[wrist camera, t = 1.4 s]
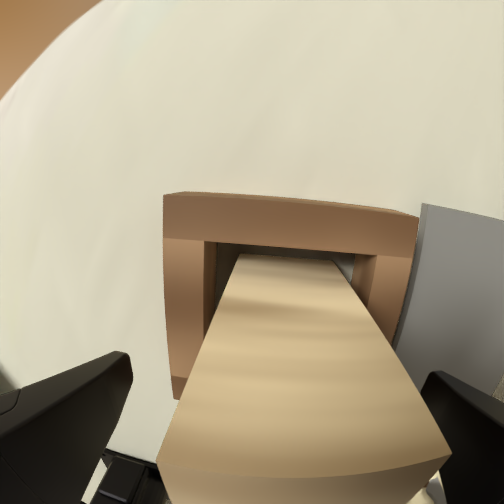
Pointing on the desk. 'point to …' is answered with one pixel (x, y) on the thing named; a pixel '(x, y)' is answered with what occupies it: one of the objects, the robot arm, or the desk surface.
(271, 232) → the collar
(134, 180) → the desk surface
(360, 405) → the peg
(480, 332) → the rubber mat
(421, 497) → the beer glass
